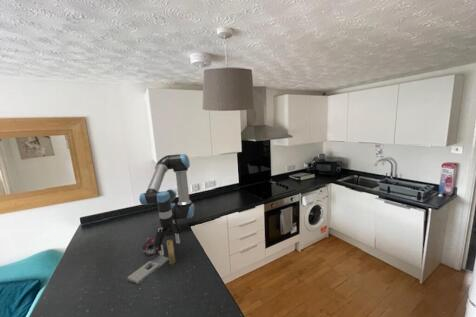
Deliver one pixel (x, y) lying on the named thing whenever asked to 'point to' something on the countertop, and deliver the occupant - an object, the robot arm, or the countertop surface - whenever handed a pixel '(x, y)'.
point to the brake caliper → (150, 247)
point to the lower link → (159, 260)
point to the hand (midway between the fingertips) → (170, 248)
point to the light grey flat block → (142, 273)
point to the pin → (170, 251)
